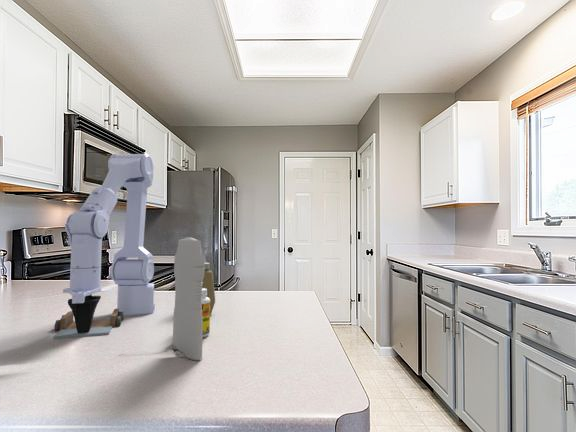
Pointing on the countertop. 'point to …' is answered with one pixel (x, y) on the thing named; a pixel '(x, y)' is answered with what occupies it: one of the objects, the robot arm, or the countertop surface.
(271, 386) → the countertop surface
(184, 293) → the tall pale column
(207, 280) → the squeeze bottle
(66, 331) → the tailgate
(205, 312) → the supplement bottle
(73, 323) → the cart bed
